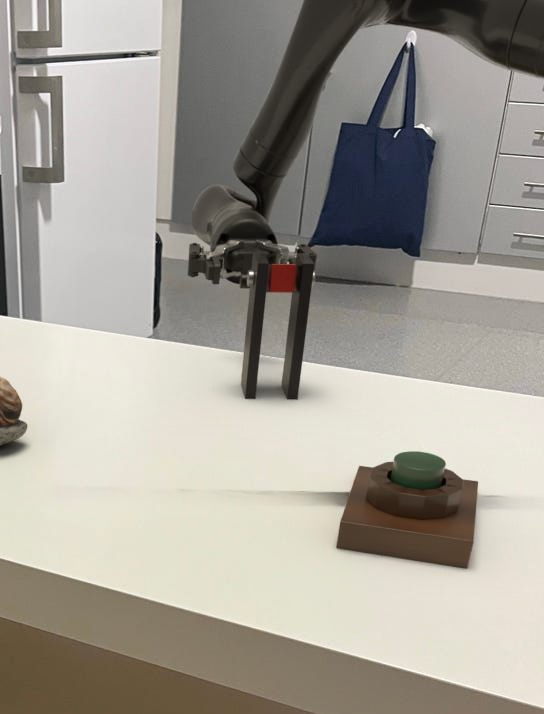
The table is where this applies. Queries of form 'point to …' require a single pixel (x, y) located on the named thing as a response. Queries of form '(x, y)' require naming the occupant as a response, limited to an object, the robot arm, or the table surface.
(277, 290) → the lever
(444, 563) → the button block
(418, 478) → the button
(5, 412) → the bison figurine
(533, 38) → the robot arm
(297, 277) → the bracket
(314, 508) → the table surface
